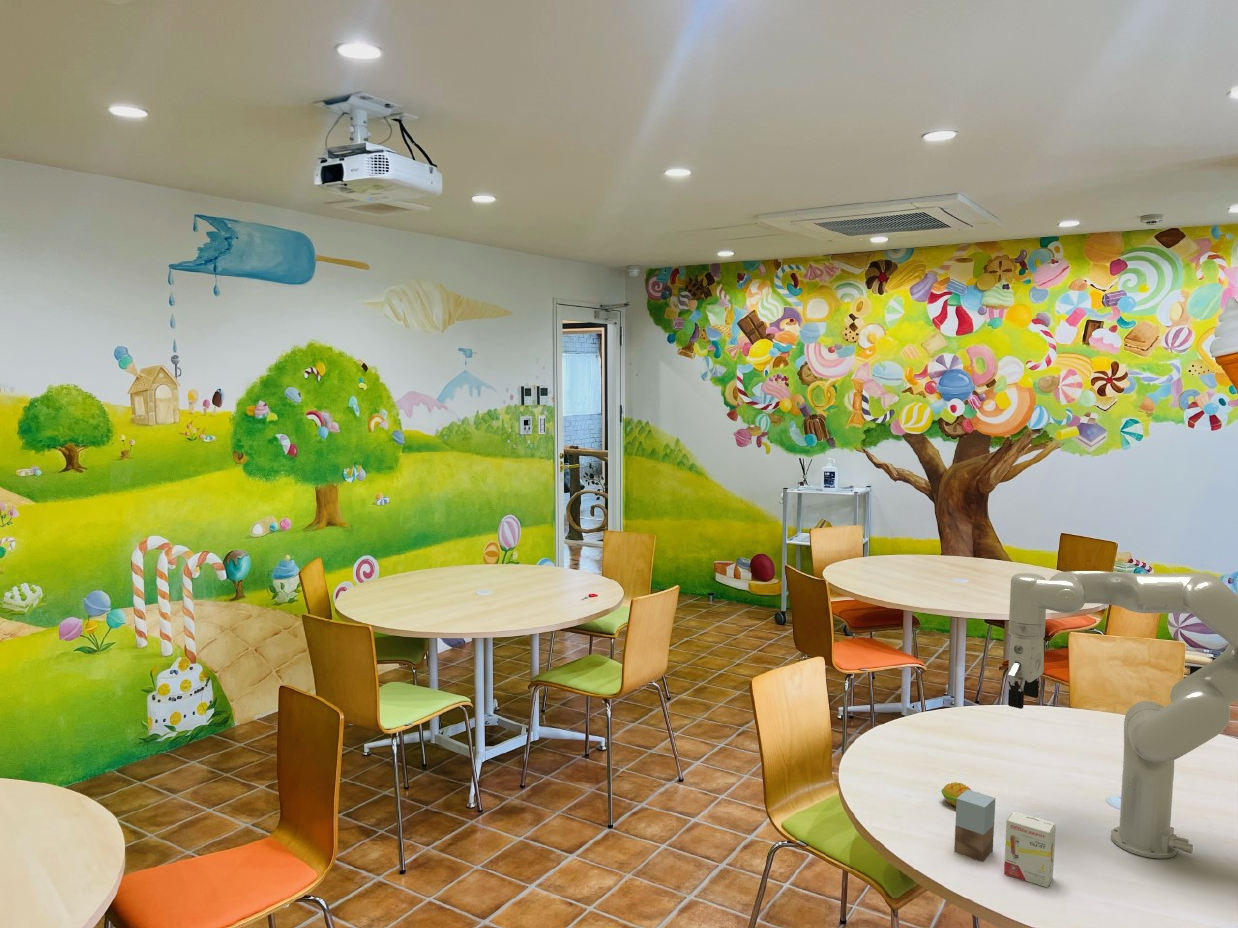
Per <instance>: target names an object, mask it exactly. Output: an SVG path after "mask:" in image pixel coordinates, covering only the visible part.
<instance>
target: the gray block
mask: <svg viewBox="0 0 1238 928" xmlns="http://www.w3.org/2000/svg"><path fill="white" fill-rule="evenodd" d="M971 790H972V789H971ZM971 790H968V789H967V790H966V791H965V792H964V793H963V794H961V795H960V796H959V797H958V798H957V802H956V806H955V825H956V826H959V827H962V828H965V829H968V830H971V831H974V832H977V833H980V834H983V835H984V834H985V833H986V832H987V831H988V830H989V829H990V828H991V827H993V826H994V827H995V819H996V818H995V816H996V815H995V814H996V797H993V796H990V795H987V794H984V793H980V792H977V791H975V790H972V791H971Z"/></svg>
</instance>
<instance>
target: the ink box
mask: <svg viewBox="0 0 1238 928" xmlns="http://www.w3.org/2000/svg"><path fill="white" fill-rule="evenodd" d="M1005 825H1006V828H1005V844H1004V845H1005V848H1004V870H1003V874H1004V875H1006V876H1009V877H1013V878H1016V879H1018V880H1022V881H1024V882H1029V883H1031V884H1034V885H1037V886H1041V887H1044V888H1048V887H1049V886H1050V884H1051V882H1052V880H1053V878H1054V877H1053V876H1054V875H1053V874H1054V863H1055V861H1054V860H1055V848H1056V847H1055V846H1056V829H1057V826H1056V824H1055V822H1053V821H1050V820H1046V819H1042V818H1039V817H1036V816H1034V815H1033V816H1032V815H1029V814H1027V813H1022V812H1019V811H1012V813H1010V815H1009V816H1008V817H1007V819H1006V823H1005Z"/></svg>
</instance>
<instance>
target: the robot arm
mask: <svg viewBox="0 0 1238 928" xmlns="http://www.w3.org/2000/svg"><path fill="white" fill-rule="evenodd" d="M1009 591H1010V592H1009V593H1010V594H1009V611H1008V612H1009V614H1008V615H1009V616H1008V618H1009V619H1008V634H1009V635H1010V636H1011V639H1010V645H1009V646H1010V647H1009V655H1008V693H1007V695H1008V696H1007V706H1008V707H1011V708H1015V709H1020V710H1022V709H1023V708H1024V703H1025V702H1024V701H1025V697H1030V698H1033V699H1037V698H1039V692H1040V691H1039V690H1040V689H1039V688H1040V681H1039V680H1040V677H1042V676H1043V674H1044V668H1045V664H1044V663H1045V662H1044V661H1045V657H1044V656H1045V653H1044V652H1045V651H1044V650H1045V648H1044V643H1045V642H1044V638H1045V636H1046V619H1047V618H1046V616H1047V614H1046V613H1047V610H1049V611H1053V612H1056V613H1062V614H1073V613H1077V612H1079V611H1080V610H1081V609H1083V608H1084V606H1085V605H1086V604H1097V605H1098V604H1099V605H1100V604H1101V605H1109V606H1115V607H1119V608H1122V609H1125V610H1127V611H1131V612H1133V613H1134V612H1135V613H1138V614H1192V615H1193V616H1194V617H1195V618H1196V619H1198V621H1200V622H1201V623H1202V624H1204V625H1205V626H1206V627H1207V628H1209V629H1210V630H1211V631H1213V632H1214V633H1216V634H1217V635H1219V636H1220V637H1221V638H1222V639H1224V640H1225V642H1228V644H1227V646H1226V648H1225V650H1224V651H1222V653H1221V654H1220V655H1219V656H1217V657H1216V658H1215V659H1213V660H1212V661H1210V662H1209V663H1207V664H1206V665H1204V666H1202V667H1201V668H1199V669H1197V670H1196V671H1194V672H1192V673H1191V674H1189V675H1188V676H1186V677H1184V678H1183V679H1181V680H1178V682H1176V683H1174V685H1173V686H1172V687H1171V690H1170V695H1169V697H1170V702H1171V703H1169V704H1168V705H1165V706H1163V705H1161V704H1160V703H1157V702H1154V701H1149V700H1147V701H1146V700H1144V701H1138V702H1136V703H1134V704H1133V705H1131V707H1129V708H1128V710H1127V711H1126V713H1125V715H1124V716H1125V717H1124V721H1123V722H1124V723H1123V761H1122V763H1123V764H1122V775H1121V776H1122V778H1121V792H1120V793H1121V794H1120V812H1119V825H1118V826H1116V827H1114V828H1112V830H1111V833H1110V837H1111V840H1112V842H1113V843H1114V844H1115V845H1116V846H1118V848H1121V849H1123V850H1125V851H1126V852H1128V853H1132V854H1134V855H1137V856H1140V857H1144V858H1150V859H1159V860H1160V859H1161V860H1162V859H1170V858H1173V857H1175V856H1176V855H1177V854H1178V850H1180V851H1182V852H1185V853H1188V854H1193V849H1194V844H1192V843H1190V840H1189V838H1184V837H1180V836H1177V834H1175V827H1172V826H1171V821H1172V808H1173V807H1172V804H1173V791H1174V790H1173V789H1174V788H1173V787H1174V776H1175V760H1177V759H1179V758H1181V757H1183V756H1184V755H1187V754H1188V753H1190V752H1192V751H1194V750H1195V749H1196V748H1198V747H1201V746H1202V745H1204V744H1206V743H1207V742H1209V741H1210V740H1212V739H1214V738H1215V737H1217V736H1218V735H1220V734H1221V733H1222V732H1223V731H1224V730H1225V729H1226V728H1227V727H1228V725H1229V722H1230V720H1231V717H1232V716H1231V707H1230V706H1231V705H1233V704H1234V703H1235V702H1237V701H1238V594H1237V593H1235V592H1234V590H1232V589H1231V588H1229V586H1228V585H1226V584H1225V582H1223V581H1222V580H1221V579H1220V578H1219V577H1217V576H1215V575H1213V574H1209V573H1204V572H1203V573H1202V572H1182V573H1181V572H1177V573H1174V572H1172V573H1133V572H1114V571H1105V570H1104V571H1103V570H1101V571H1097V570H1092V571H1091V570H1088V571H1087V570H1086V571H1085V570H1082V571H1081V570H1080V571H1079V570H1078V571H1077V570H1076V571H1075V570H1074V571H1073V570H1072V571H1071V570H1070V571H1062V572H1057V573H1056V574H1053V575H1052V576H1051V577H1050V579H1046V577H1044V576H1043V575H1039V574H1036V573H1029V572H1022V573H1015V574H1014V575H1012V576H1011V579H1010V589H1009Z"/></svg>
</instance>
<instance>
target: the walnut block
mask: <svg viewBox="0 0 1238 928" xmlns="http://www.w3.org/2000/svg"><path fill="white" fill-rule="evenodd" d="M954 827H955V828H954V848H953V849H954V850H953V851H954V853H957V854H960V855H962V856H964V855H965V856H964V857H968V858H970V859H973V860H977V861H979V862H982V863H983V862H984V861H985V860H986V859H987V858H988V857H989V856H990V855H991V854H992V853H993V852H994V837H995V835H994V834H995V831H994V830H995V825H994V826H993V827H991V828H990V829H989V830H988V831H987V832H986V833H985V834H984V835H983V834H980V833H977V832H974V831H971V830H968V829H965V828H962V827H959V826H956V824H955V825H954Z"/></svg>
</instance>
